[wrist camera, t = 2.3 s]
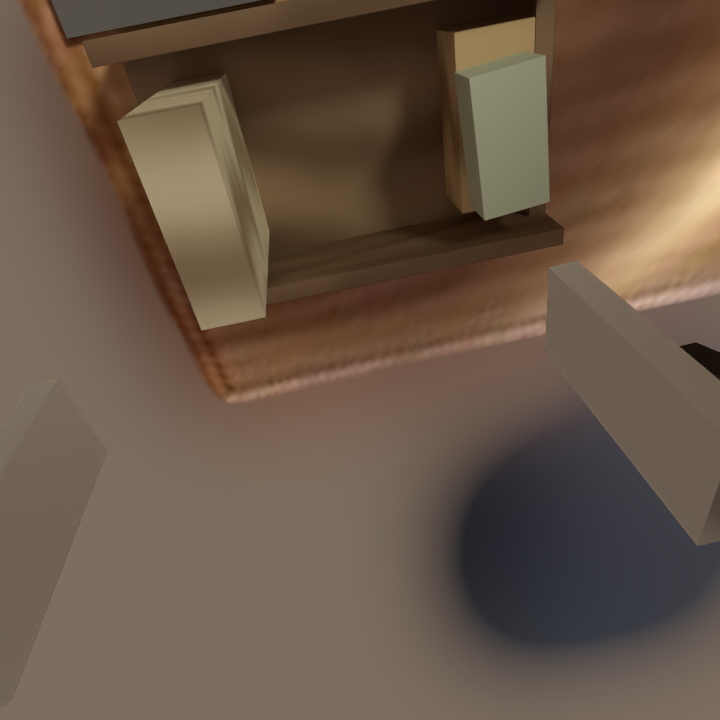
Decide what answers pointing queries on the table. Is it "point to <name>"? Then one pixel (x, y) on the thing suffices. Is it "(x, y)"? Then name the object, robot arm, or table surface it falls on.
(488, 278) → the table surface
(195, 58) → the tray
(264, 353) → the table surface
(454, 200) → the offcut low
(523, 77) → the offcut top
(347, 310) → the table surface
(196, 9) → the mat
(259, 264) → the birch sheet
